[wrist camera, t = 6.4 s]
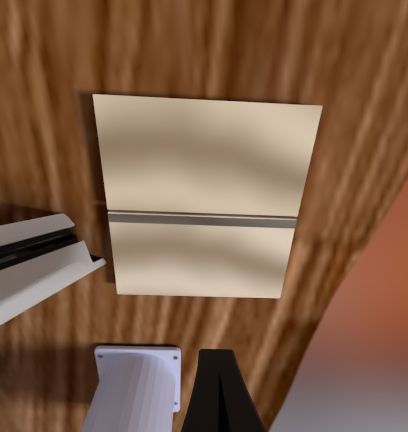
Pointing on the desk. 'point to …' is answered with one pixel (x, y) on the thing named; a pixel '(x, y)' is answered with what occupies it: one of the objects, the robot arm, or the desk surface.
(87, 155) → the desk surface
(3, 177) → the desk surface
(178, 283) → the laid board
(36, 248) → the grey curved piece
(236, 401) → the robot arm
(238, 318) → the desk surface
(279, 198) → the board
